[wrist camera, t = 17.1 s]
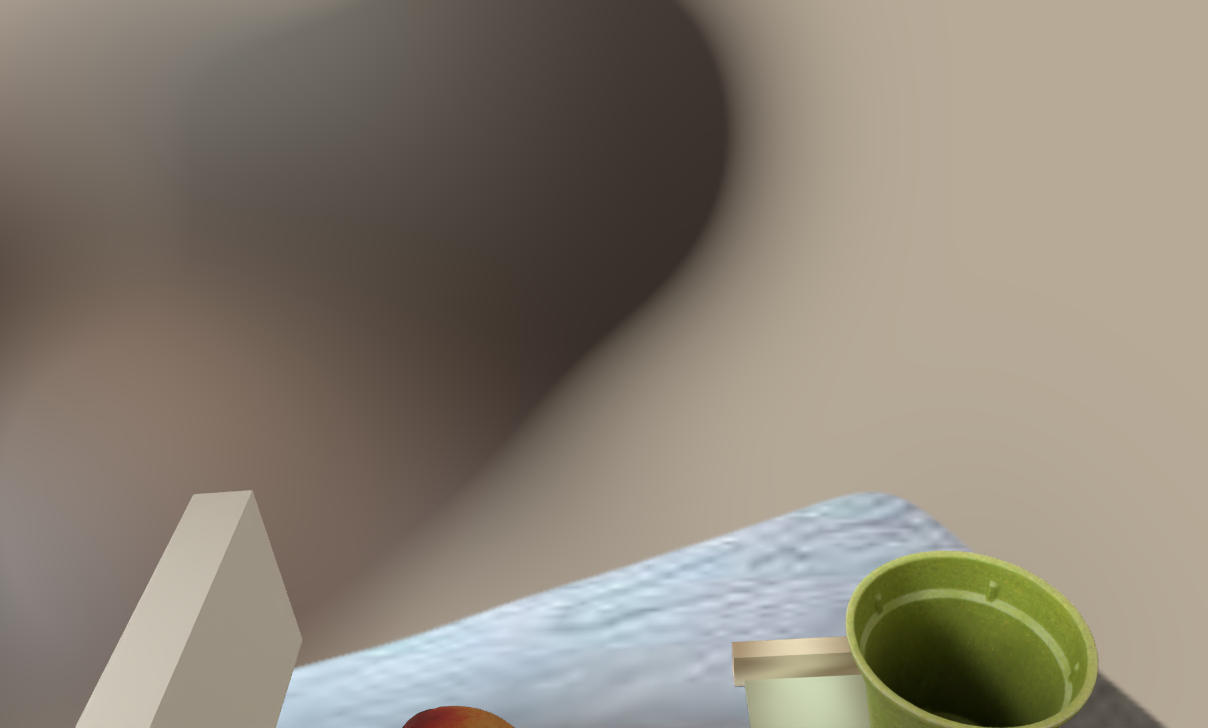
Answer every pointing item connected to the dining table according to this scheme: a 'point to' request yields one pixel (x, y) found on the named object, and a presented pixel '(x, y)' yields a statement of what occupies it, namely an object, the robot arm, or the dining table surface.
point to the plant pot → (968, 645)
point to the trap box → (801, 683)
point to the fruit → (456, 718)
